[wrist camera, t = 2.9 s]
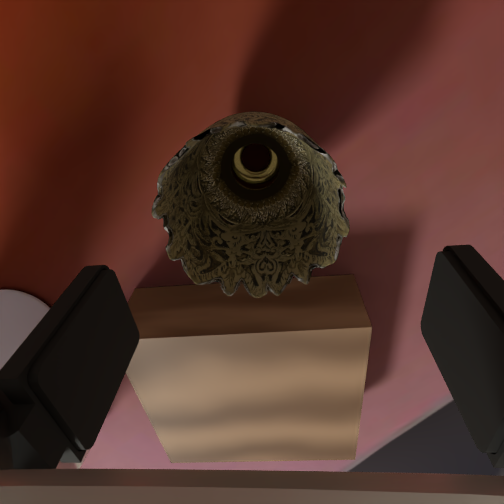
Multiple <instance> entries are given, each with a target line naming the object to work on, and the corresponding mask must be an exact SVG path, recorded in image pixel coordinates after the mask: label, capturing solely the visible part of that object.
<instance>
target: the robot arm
mask: <svg viewBox="0 0 504 504" xmlns="http://www.w3.org/2000/svg"><path fill="white" fill-rule="evenodd" d="M421 331H422V334H423V337H424V339H425V341H426V343H427V345H428V347H429V349H430V351H431V353H432V355H433V357H434V360H435V362H436V364H437V366H438V368H439V370H440V372H441V374H442V376H443V378H444V380H445V382H446V384H447V386H448V388H449V391H450V393H451V395H452V397H453V399H454V401H455V403H456V405H457V407H458V409H459V411H460V413H461V415H462V417H463V419H464V421H465V424H466V426H467V428H468V430H469V432H470V434H471V436H472V438H473V440H474V442H475V444H476V446H477V448H478V449H479V450H480V451H481V452H482V453H487V455H488V457H489V459H490V461H491V463H492V465H493V467H494V468H504V280H503V279H502V278H501V277H500V276H499V275H498V274H497V273H496V272H495V270H494V269H493V268H492V267H491V266H490V265H489V264H488V263H487V262H486V261H485V260H484V258H483V257H482V256H481V255H480V254H479V253H478V252H477V251H476V250H475V249H474V248H473V247H472V246H471V245H454V246H446V247H445V248H444V249H443V251H441V252H438V253H437V255H436V258H435V262H434V267H433V271H432V276H431V280H430V284H429V289H428V293H427V298H426V302H425V306H424V311H423V315H422V320H421ZM139 339H140V335H139V330H138V328H137V325H136V323H135V320H134V318H133V316H132V313H131V311H130V308H129V306H128V303H127V301H126V298H125V296H124V293H123V291H122V289H121V286H120V284H119V281H118V279H117V276H116V274H115V272H114V271H113V270H111V269H109V267H107V266H106V265H96V266H86V267H84V268H83V269H82V270H81V272H80V273H79V274H78V275H77V276H76V278H75V279H74V280H73V281H72V283H71V284H70V285H69V286H68V288H67V289H66V290H65V291H64V292H63V294H62V295H61V296H60V297H59V299H58V300H57V301H56V302H55V303H54V305H53V306H52V307H51V308H50V310H49V311H48V312H47V313H46V314H45V316H44V317H43V318H42V319H41V321H40V322H39V323H38V324H37V326H36V327H35V328H34V329H33V330H32V332H31V333H30V334H29V335H28V337H27V338H26V339H25V340H24V341H23V343H22V344H21V345H20V346H19V348H18V349H17V350H16V351H15V352H14V354H13V355H12V356H11V357H10V359H9V360H8V361H7V362H6V363H5V365H4V366H3V367H2V368H1V370H0V504H504V476H491V475H464V474H431V473H377V472H375V473H374V472H372V473H371V472H324V471H256V470H177V469H56V467H57V465H58V463H59V461H61V463H81V462H82V459H83V457H84V455H85V453H86V450H89V449H90V448H91V447H92V446H93V445H94V443H95V441H96V438H97V436H98V434H99V432H100V429H101V427H102V425H103V422H104V420H105V418H106V416H107V413H108V411H109V409H110V407H111V404H112V402H113V400H114V398H115V395H116V393H117V391H118V389H119V386H120V384H121V382H122V379H123V377H124V375H125V373H126V370H127V368H128V366H129V364H130V361H131V359H132V357H133V355H134V352H135V350H136V348H137V346H138V343H139Z"/></svg>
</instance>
